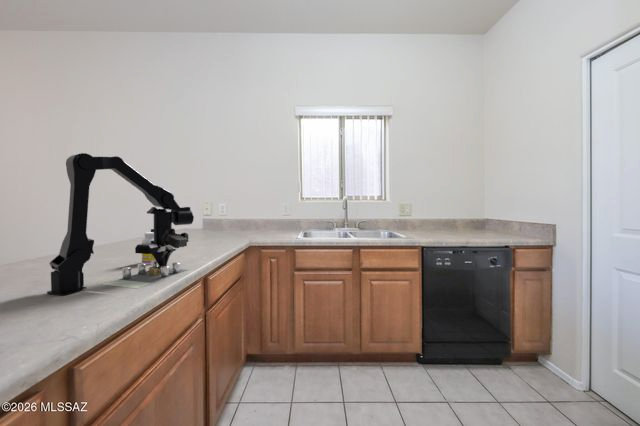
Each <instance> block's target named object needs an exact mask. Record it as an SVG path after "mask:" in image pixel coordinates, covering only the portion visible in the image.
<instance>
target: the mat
mask: <svg viewBox="0 0 640 426" xmlns="http://www.w3.org/2000/svg"><path fill="white" fill-rule="evenodd" d="M187 271H188V269H181V268H180V273H173V268H170V267H169V277H161V275H158V276H149V270H146V274H143V275H138V273H136V274H133V275H132V274H131V279H123V277H122V278H119V279H115V280H113V281H109V282H106V283H102V284H101V285H104V286H112V287H113V286H114V287H123V288H131V289H132V288H133V289H138V288H142V287H144V286H146V285H149V284H153V283H156V282H159V281H162V280H164V279H167V278H170V277H172V276H175V275H178V274H182V273H184V272H187Z"/></svg>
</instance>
